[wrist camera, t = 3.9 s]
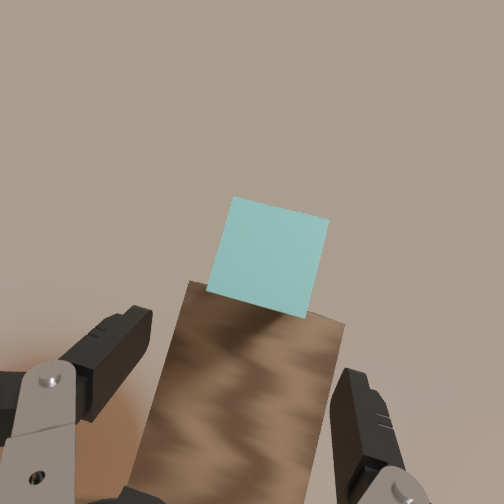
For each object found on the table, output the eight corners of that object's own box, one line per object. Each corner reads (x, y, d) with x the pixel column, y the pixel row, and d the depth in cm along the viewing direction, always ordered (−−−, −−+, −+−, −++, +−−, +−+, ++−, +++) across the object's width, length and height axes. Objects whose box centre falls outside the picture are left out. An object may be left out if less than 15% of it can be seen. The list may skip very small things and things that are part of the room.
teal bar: (205, 290, 12) (233, 196, 13) (254, 296, 40) (262, 266, 40) (305, 318, 12) (329, 219, 12) (284, 304, 39) (292, 274, 40)
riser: (42, 768, 19) (189, 280, 23) (153, 543, 37) (226, 288, 41) (221, 858, 18) (345, 324, 22) (248, 580, 36) (314, 312, 40)
